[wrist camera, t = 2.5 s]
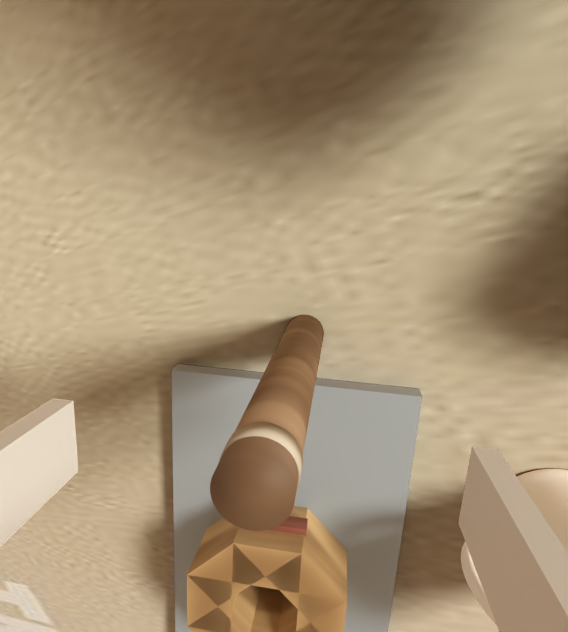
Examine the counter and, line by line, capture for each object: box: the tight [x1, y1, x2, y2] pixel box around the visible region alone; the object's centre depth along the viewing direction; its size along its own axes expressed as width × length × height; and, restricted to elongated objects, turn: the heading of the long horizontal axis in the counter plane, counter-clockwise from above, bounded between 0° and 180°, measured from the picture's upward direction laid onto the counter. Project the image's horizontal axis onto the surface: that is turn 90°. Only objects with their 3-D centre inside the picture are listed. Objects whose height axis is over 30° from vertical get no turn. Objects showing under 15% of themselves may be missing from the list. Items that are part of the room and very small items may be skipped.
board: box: [171, 364, 422, 632], centre depth 30 cm, size 24×16×1 cm, turn 177°
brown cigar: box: [210, 315, 324, 531], centre depth 19 cm, size 2×2×16 cm
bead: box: [187, 506, 347, 632], centre depth 28 cm, size 11×10×4 cm
